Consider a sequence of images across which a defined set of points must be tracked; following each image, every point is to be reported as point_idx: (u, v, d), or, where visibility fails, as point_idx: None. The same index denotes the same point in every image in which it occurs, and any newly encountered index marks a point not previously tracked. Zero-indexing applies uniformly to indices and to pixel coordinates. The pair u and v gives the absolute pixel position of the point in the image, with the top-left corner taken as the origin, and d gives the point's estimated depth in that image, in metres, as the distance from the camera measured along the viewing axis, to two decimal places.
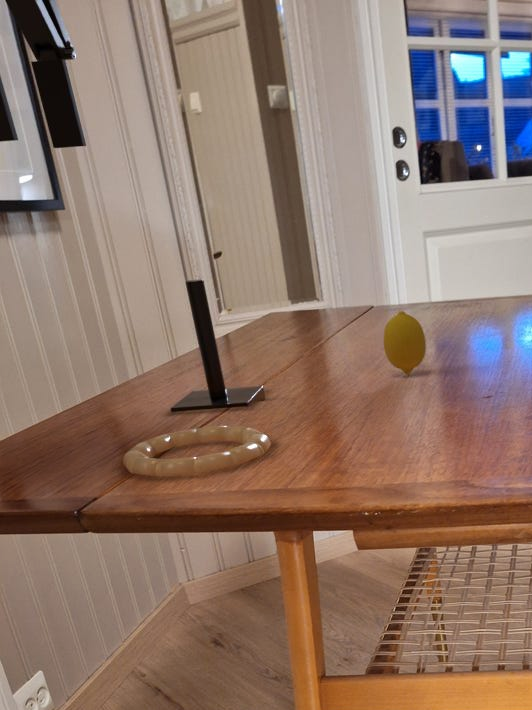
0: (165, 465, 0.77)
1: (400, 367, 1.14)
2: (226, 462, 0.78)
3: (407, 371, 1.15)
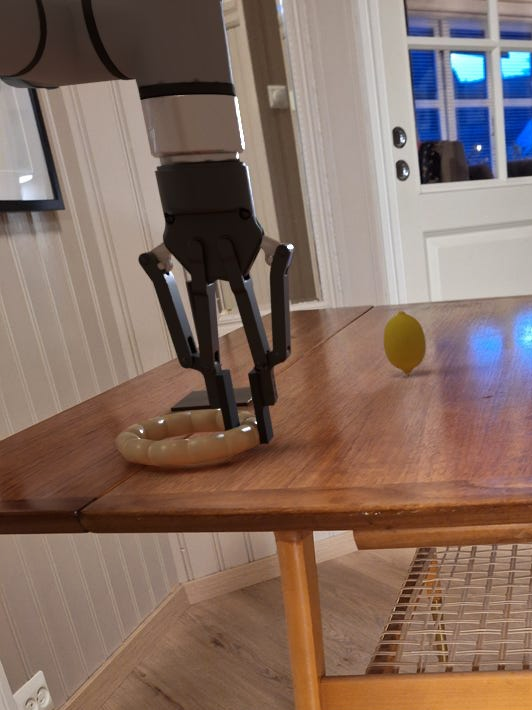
0: (158, 446, 0.77)
1: (400, 367, 1.14)
2: (220, 444, 0.78)
3: (407, 371, 1.15)
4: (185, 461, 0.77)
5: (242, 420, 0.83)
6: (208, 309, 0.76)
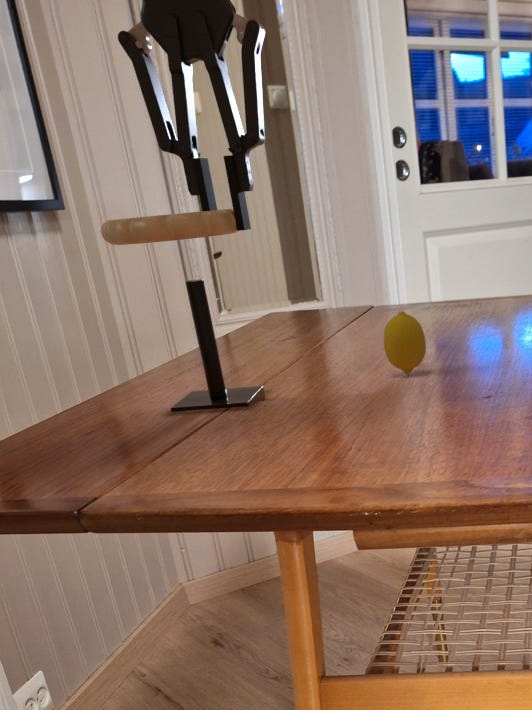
0: (138, 221, 0.81)
1: (400, 367, 1.14)
2: (197, 220, 0.82)
3: (407, 371, 1.15)
4: (164, 235, 0.81)
5: None
6: (184, 89, 0.80)
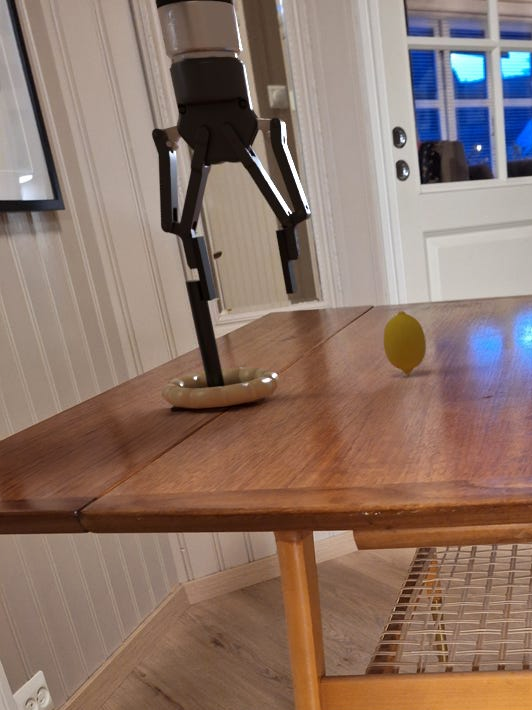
0: (197, 392, 0.98)
1: (400, 367, 1.14)
2: (245, 390, 0.99)
3: (407, 371, 1.15)
4: (218, 404, 0.98)
5: (261, 374, 1.05)
6: (199, 185, 0.93)
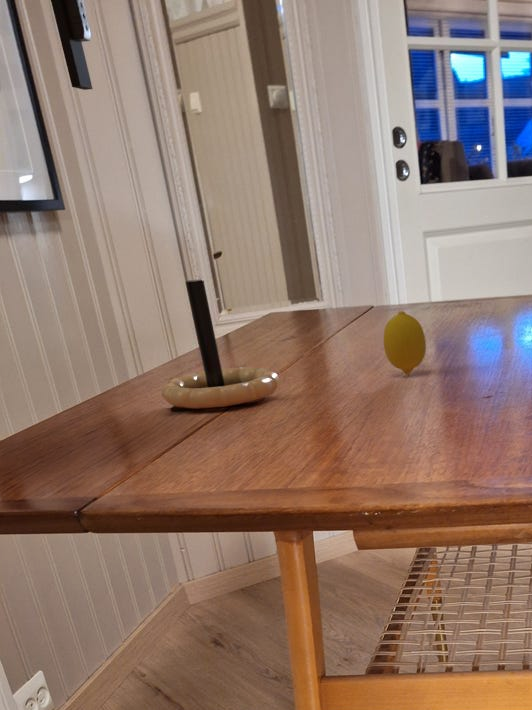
0: (197, 392, 0.98)
1: (400, 367, 1.14)
2: (245, 390, 0.99)
3: (407, 371, 1.15)
4: (218, 404, 0.98)
5: (261, 374, 1.05)
6: None
